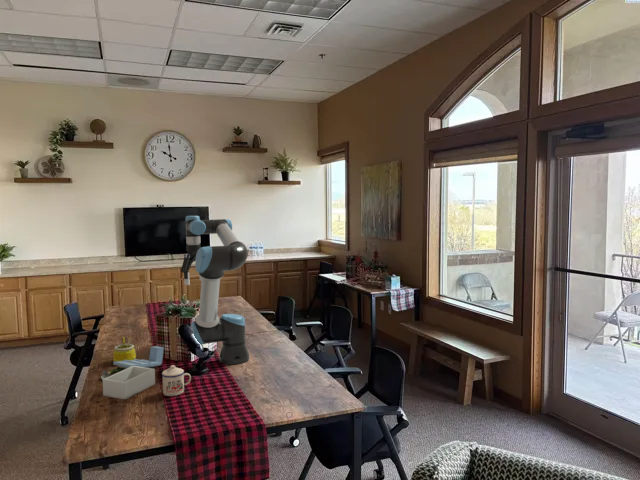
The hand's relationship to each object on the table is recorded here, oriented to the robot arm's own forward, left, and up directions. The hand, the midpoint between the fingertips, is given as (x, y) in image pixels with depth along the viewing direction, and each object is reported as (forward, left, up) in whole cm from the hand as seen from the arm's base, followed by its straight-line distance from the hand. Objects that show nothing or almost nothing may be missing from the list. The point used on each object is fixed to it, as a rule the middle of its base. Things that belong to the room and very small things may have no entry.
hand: (194, 282), depth 268 cm
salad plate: (+7, +49, -37) cm, 62 cm away
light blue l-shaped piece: (+5, +38, -35) cm, 52 cm away
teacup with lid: (-29, +55, -37) cm, 72 cm away
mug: (+22, +30, -37) cm, 52 cm away
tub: (-8, +60, -37) cm, 71 cm away
